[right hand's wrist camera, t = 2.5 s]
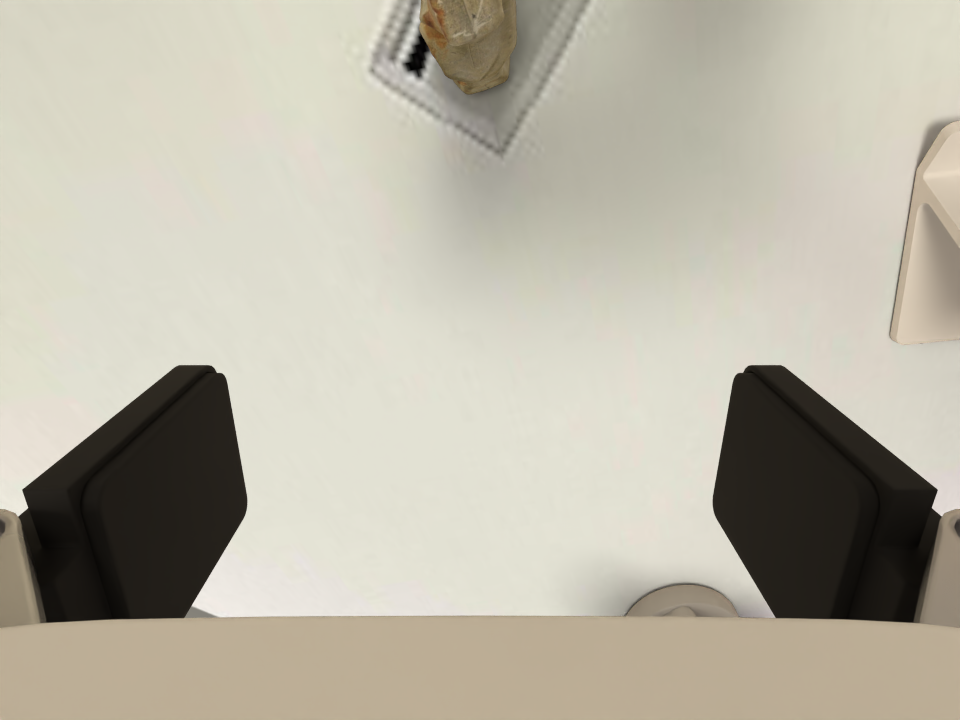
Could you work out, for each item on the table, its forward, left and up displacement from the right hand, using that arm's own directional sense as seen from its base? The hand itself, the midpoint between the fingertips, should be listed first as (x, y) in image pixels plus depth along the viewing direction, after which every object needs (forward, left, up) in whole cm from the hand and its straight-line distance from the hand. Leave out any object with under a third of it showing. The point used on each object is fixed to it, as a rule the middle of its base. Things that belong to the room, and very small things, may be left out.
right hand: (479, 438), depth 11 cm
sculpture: (-4, -10, -39) cm, 41 cm away
